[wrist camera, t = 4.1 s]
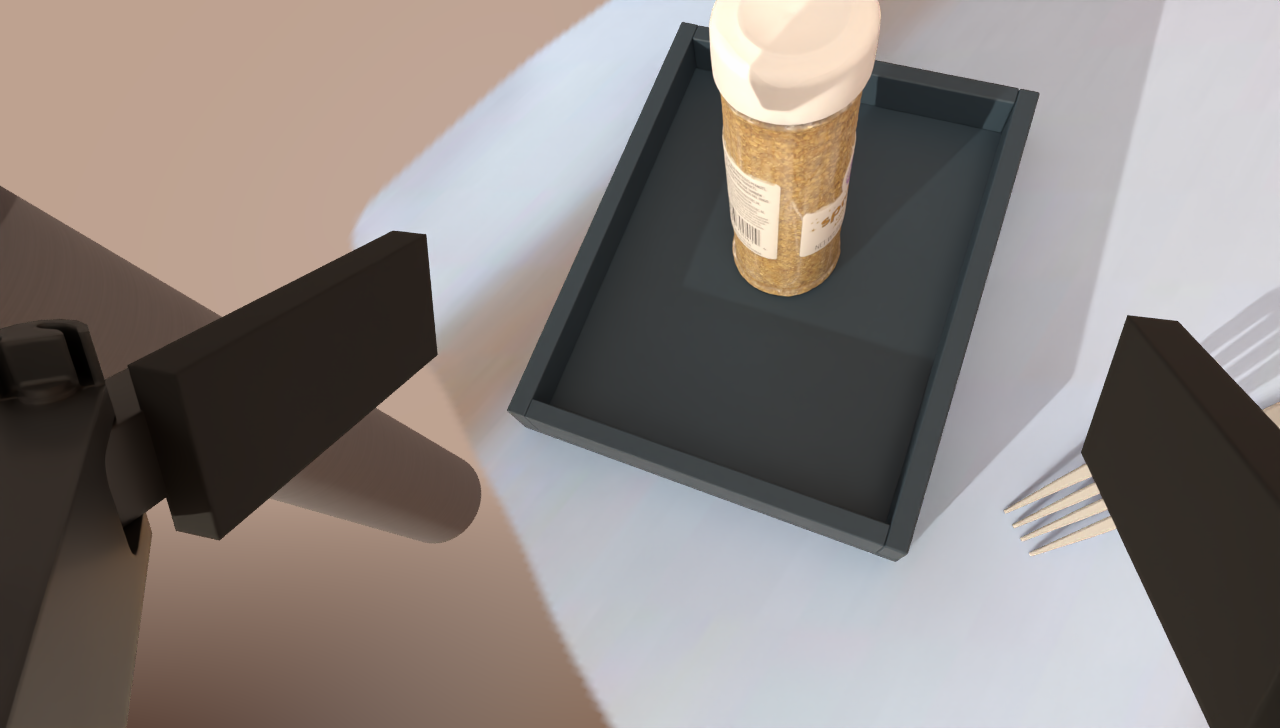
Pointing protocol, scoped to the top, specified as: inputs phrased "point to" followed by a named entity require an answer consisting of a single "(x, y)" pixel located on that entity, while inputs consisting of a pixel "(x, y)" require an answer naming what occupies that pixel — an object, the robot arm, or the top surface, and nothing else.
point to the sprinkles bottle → (790, 129)
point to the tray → (784, 307)
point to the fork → (1275, 412)
